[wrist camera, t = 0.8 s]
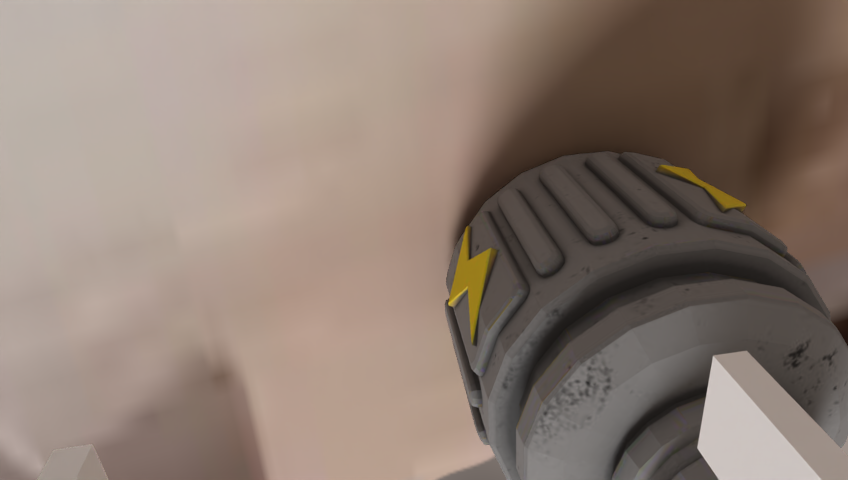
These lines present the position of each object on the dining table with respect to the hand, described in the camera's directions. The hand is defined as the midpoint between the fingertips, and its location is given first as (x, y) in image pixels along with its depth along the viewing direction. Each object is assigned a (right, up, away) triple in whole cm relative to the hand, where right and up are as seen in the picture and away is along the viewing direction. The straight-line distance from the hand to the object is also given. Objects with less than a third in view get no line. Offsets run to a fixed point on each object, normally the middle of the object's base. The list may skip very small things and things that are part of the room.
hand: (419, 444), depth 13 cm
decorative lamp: (+10, +2, +28) cm, 30 cm away
